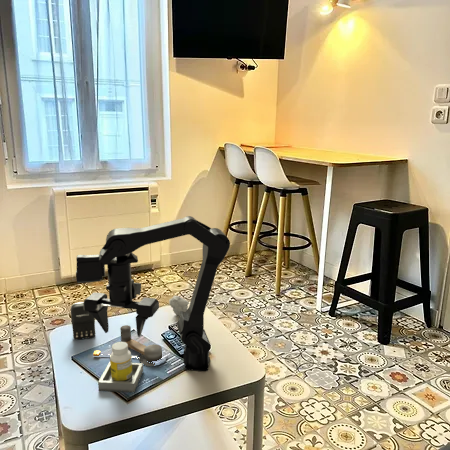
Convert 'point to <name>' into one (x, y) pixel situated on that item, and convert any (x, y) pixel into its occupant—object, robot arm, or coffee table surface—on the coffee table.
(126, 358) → the supplement bottle
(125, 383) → the tray
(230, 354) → the coffee table surface
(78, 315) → the battery charger
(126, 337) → the crank
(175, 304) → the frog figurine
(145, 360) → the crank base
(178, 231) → the robot arm
